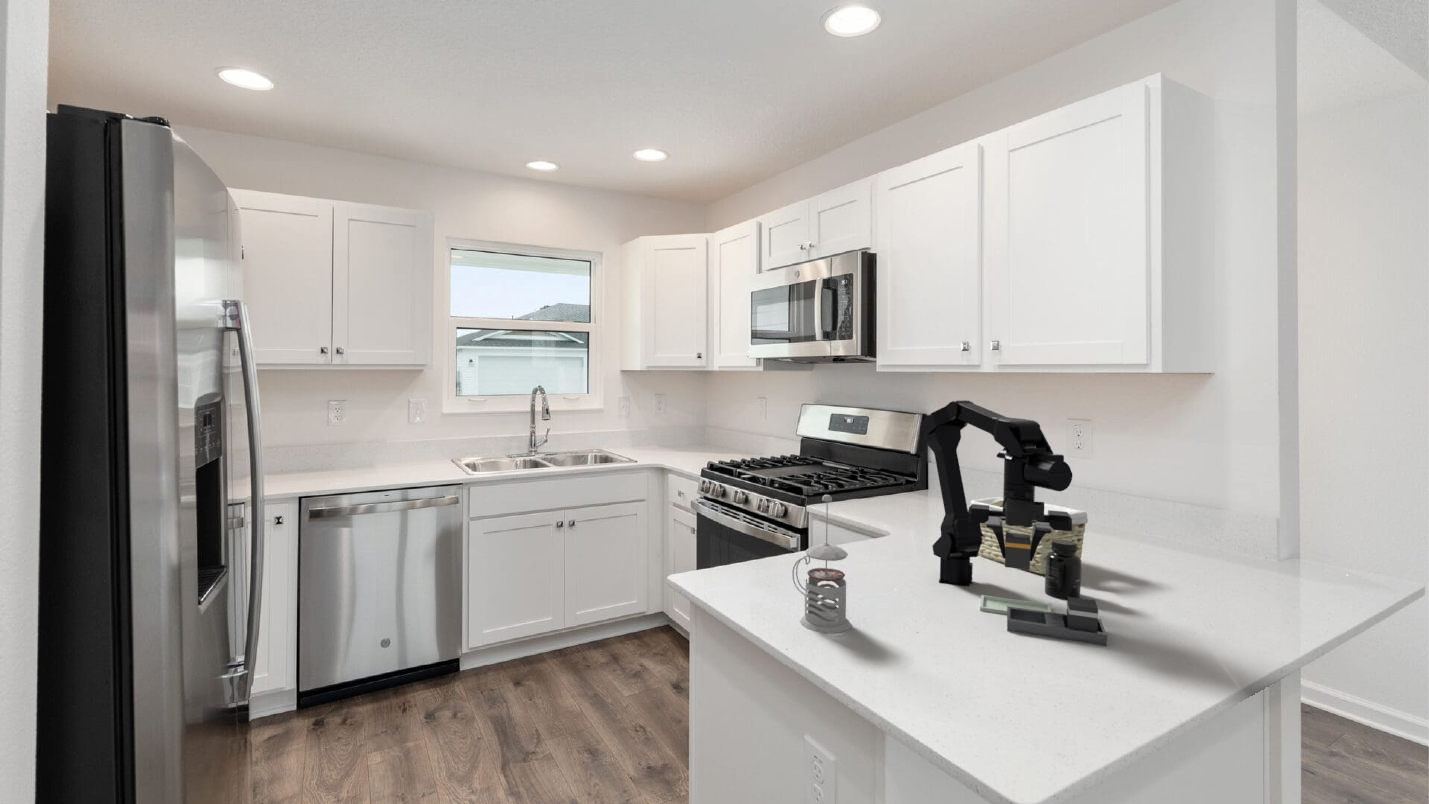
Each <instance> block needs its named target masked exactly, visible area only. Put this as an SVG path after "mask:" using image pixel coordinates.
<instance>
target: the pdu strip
mask: <svg viewBox="0 0 1429 804" xmlns="http://www.w3.org/2000/svg"><path fill="white" fill-rule="evenodd" d="M1006 631H1007V632H1010V633H1016V634H1017V633H1018V634H1021V635H1023V634H1024V635H1030V636H1036V637H1042V638H1043V637H1044V638H1049V639H1056V640H1062V641H1069V642H1076V643H1082V644H1087V645H1096V646H1102V647H1107V643H1108V642H1107V641H1108V634H1107V632H1106V630H1105V626H1104V624H1103V622H1102V619H1100V618H1098V630H1097V632H1096V631H1089V630H1083V629H1076V628H1069V627H1067V613H1066V614H1065V613H1059V612H1052V611H1051V612H1045V611H1038V610H1031V609H1024V608H1016V607H1009V606H1007V615H1006Z"/></svg>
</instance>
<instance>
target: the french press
mask: <svg viewBox="0 0 1429 804" xmlns="http://www.w3.org/2000/svg"><path fill="white" fill-rule="evenodd" d="M821 500H822V502H826V511H825V512H826V519H825V521H826V522H825V525H826V527H825V528H826V529H825V530H826V531H825V533H826V534H825V543H819V544H815V545H813V546H811V547H809V548H807V549H806V550H805V552H804V553H805V554H806V555H804V556H802V557H801V558H799V559H798V560H797V561H795V563H794V565H793V567H792V571H791V572H792V581H793V584H794V587H795V588H796V589H797V591H798V592H799V593H801V594H802V596H804V615H803V616H802V617H801V618H800V620H799V623H800V625H801V626H802V627H804V628H806V629H807V630H810V631H812V632H817V633H825V634H829V633H830V634H836V633H841V632H845V631H847V630H850V629H851V626H852V623H851V622H850V620H849V619H848V618H847V615H846V614H847V609H846V608H847V581H846V579H844V577H845V576H846V574H845V573H844V571H842V570H839V569H835V568H831V567H830V568H829V567H827V565H828V561H829V562H835V561H842V560H844V559H847V557H848V556H849V553H848V552H847V551H846V550H845V549H843V548H842V547H839V546H837V545H836V544H831V543H828V514H829V513H828V508H829V505H828V504H829V503H828V502H830V503H831V502H833V497H832V496H831V495H829V494H824V495H823V496H822V499H821ZM807 558H808V559H807ZM811 559H813V560H814V559H815V560H819V561H825V567H816V568H811V569H809V570H808V571H807V575H808V579H807V578H806V579H805V588H804V586H803V585H801V582H800V580H799V576H798V567H799V565H800V563H801V561H803V560H804V561H805V565H809V563H811ZM795 576H796V580H797V583H798V585H799V586H800V587H801V589H803V591H805V593H804V592H803V591H802V590H800V589H799V587H798V586H797V583H796V581H795ZM821 582H833V583H834V584H836V585H837V587H836V585H833V584H831V583H822V584H819V583H821ZM819 596H821V597H819ZM827 600H829V601H832V602H829V601H827Z"/></svg>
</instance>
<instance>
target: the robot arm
mask: <svg viewBox="0 0 1429 804" xmlns="http://www.w3.org/2000/svg"><path fill="white" fill-rule="evenodd" d="M920 425H921V432H922V435H923V438H924V441H925V442H924V443H925V444H926V445H927V447H929V449H930V450H931V451H932V453H934V454H933V455H934V457H935V458H934V459H935V464H936V468H937V470H936V471H937V475H938V476H937V477H938V480H939V486H940V492H941V498H942V504H943V508H944V509H943V510H944V513H945V514H944V516H943V519H942V522H941V524H940V536H939V538H938V539H937V540H936V541H935V542H934V543H933V544H932V551H933V552H932V553H933V556H935V557H938V558H940V560H939V563H940V565H939V579H938V583H939V584H945V585H952V586H961V587H970V584H972V583H973V569H974V568H973V567H974V565H973V564H974V563H973V562H971V558H977V557H978V556H979V555H978V552H979V549H980V546H981V545H982V536H983V534H982V531H981V527H980V523H986V522H987V524H986V527H987V528H992V530H993V531H994V533H995V535H996V538H997V540H998V543H999V546H1000V550H1001V553H1002V556H1003V558H1005V542H1004V533H1003V524H1002V520H1005V523H1006V524H1007V525H1009V526H1014V525H1016V526H1024V527H1032V526H1033V523H1035V524H1034V526H1033V533H1032V539H1031V549H1030V561H1032V559H1033V557H1034V554H1035V552H1036V549H1037V547H1038V544H1039V542H1040V541H1041V539H1042V537H1043V536H1044V535H1045V534H1046V533H1051V528H1052V529H1053V530H1061V531H1072V518H1071V516H1070V515H1069V514H1068V513H1067V512H1062V511H1050V510H1048V515H1044V503H1045V502H1044V501H1036V502H1035V499H1036V497H1035V496H1036V495H1035V494H1036V490H1035V489H1036V488H1041V489H1047V490H1051V491H1055V492H1063V491H1066V490H1067V489H1068V488H1069V486H1070V485H1071V483H1072V481H1073V472H1072V470H1071V467H1070V465H1069V464H1068V463H1067V462H1065V456H1064V454H1058V453H1055V454H1054V452H1053V450H1052V447H1051V445H1050V444H1049V442H1048V440H1047V438H1046V436H1045V434H1044V433H1043V431H1042V429H1041V425H1040V424H1039V422H1037V421H1036V420H1033V419H1025V418H1016V417H1007V416H1005V415H1002V414H1000V413H997V412H995V411H993V410H990V409H988V408H985V407H983V406H981V405H977V404H975V403H974V402H973V401H971V400H966V399H964V400H952V401H950V402H949V403H948V404H947V405H945V406H944V407H941V408H939V409H937V410H935V411H933V412H931V413H930V414H927V415H926V416H925V417H924V420H923V421H922V422H921V424H920ZM968 425H971V426H973V427H975V428H977V429H980V430H982V431H983V432H987V433H988V434H990V435H991V436H992V437H993V439H994V441H995V442H996V443H997V444H999V445H1000V446H1002V447H1003V449H1002V450H1001V451H999V452H998V453H997V454H996V457H997V458H999V459H1003V460H1004V461H1003V464H1004V465H1003V496H1002V497H1003V511H996V510H989V506H988V505H976V504H972V505H971V504H970V505H971V506H970V505H969V507H968V504H967V499H966V493H965V488H964V483H963V478H962V472H961V467H960V461H959V456H958V452H957V451H958V450H957V449H958V447H959V445H960V441H961V439H962V434H961V433H962V432H961V431H962V430H964V428H966V427H967V426H968ZM1050 527H1051V528H1050Z"/></svg>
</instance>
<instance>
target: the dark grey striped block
mask: <svg viewBox="0 0 1429 804" xmlns="http://www.w3.org/2000/svg"><path fill="white" fill-rule="evenodd" d="M1030 549H1031V539H1030V535H1027V534H1016V533H1006V537H1005V563H1004V567H1005V568H1009V569H1017V570H1018V569H1019V570H1025V571H1030Z"/></svg>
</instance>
